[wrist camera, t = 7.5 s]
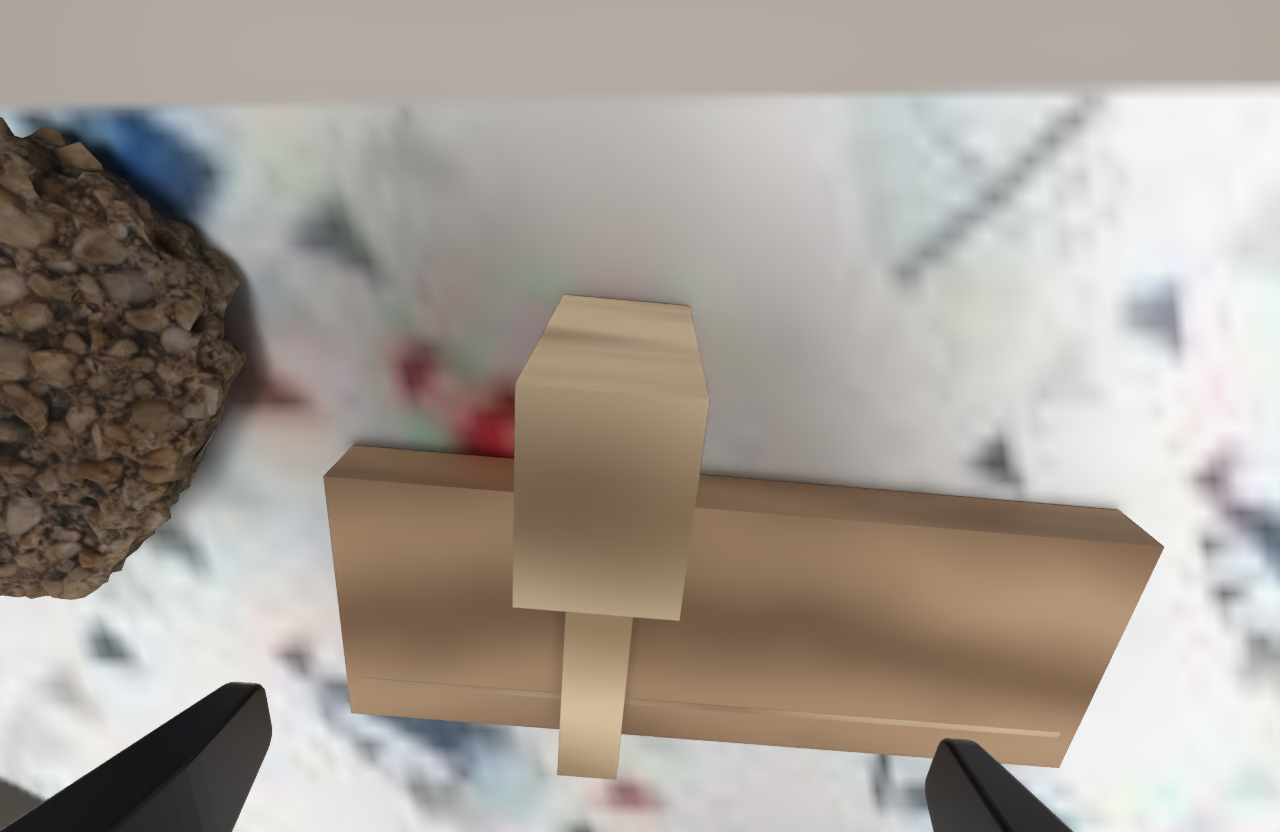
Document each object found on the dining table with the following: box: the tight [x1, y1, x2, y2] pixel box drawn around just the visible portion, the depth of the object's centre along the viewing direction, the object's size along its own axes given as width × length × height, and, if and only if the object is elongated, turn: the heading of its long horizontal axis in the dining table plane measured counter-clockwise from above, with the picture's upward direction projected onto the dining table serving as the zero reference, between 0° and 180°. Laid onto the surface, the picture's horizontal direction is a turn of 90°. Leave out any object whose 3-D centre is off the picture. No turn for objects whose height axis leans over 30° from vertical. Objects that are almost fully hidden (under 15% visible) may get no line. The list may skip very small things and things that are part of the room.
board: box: [324, 445, 1164, 768], centre depth 21 cm, size 9×24×2 cm, turn 85°
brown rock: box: [0, 117, 247, 600], centre depth 17 cm, size 12×10×5 cm
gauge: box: [513, 295, 710, 779], centre depth 18 cm, size 14×4×7 cm, turn 175°
